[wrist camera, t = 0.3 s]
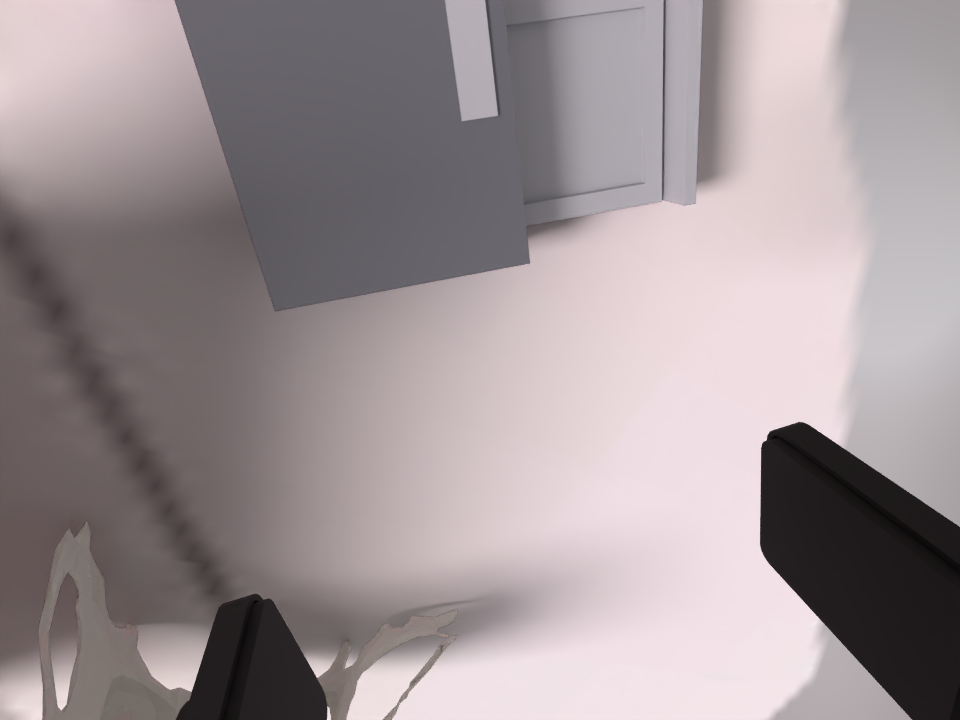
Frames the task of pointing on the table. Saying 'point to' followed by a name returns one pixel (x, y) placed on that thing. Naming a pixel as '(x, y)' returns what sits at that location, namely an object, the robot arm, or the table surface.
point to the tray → (604, 103)
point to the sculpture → (124, 676)
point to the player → (365, 138)
